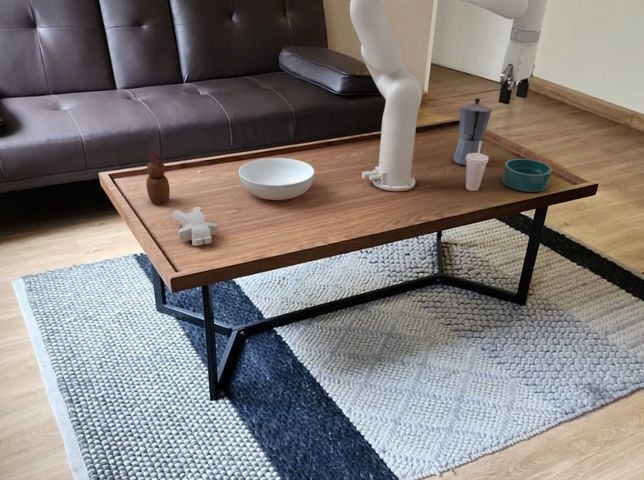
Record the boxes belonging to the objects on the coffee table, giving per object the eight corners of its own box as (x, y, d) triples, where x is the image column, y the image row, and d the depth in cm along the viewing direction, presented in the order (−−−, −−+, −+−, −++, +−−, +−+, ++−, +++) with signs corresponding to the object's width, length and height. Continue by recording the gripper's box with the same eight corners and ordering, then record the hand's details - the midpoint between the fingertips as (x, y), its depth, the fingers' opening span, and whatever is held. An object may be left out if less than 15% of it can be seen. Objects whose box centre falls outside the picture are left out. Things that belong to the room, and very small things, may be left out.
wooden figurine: (146, 198, 175) (140, 145, 167) (168, 195, 177) (162, 142, 169) (150, 208, 170) (143, 153, 162) (172, 205, 171) (167, 151, 163)
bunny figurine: (183, 236, 148) (166, 204, 158) (184, 254, 151) (168, 222, 161) (222, 229, 151) (204, 198, 162) (223, 247, 155) (204, 216, 165)
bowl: (517, 195, 184) (521, 177, 181) (493, 178, 195) (496, 160, 192) (556, 190, 188) (561, 173, 185) (531, 174, 198) (534, 157, 195)
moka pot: (480, 155, 211) (490, 93, 201) (485, 172, 198) (497, 108, 188) (451, 153, 212) (459, 92, 201) (454, 170, 199) (464, 106, 188)
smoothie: (486, 187, 188) (494, 141, 181) (478, 194, 184) (486, 147, 176) (465, 182, 191) (473, 136, 184) (457, 189, 186) (464, 142, 179)
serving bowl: (322, 184, 187) (323, 161, 183) (301, 213, 169) (301, 189, 166) (255, 175, 191) (254, 153, 187) (227, 203, 174) (226, 179, 170)
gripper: (527, 30, 180) (515, 92, 189) (496, 37, 169) (484, 102, 178) (552, 34, 175) (539, 97, 184) (521, 42, 164) (509, 109, 173)
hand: (512, 100), depth 181 cm, fingers open, 9 cm apart
